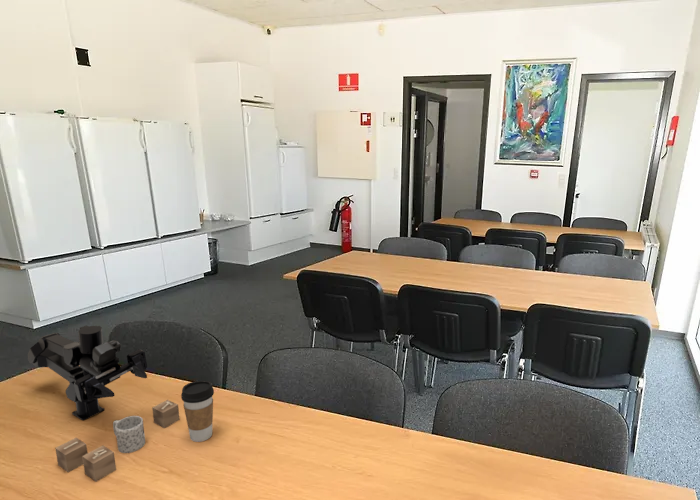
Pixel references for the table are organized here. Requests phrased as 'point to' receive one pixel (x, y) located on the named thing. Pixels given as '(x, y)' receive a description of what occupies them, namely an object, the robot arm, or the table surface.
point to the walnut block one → (71, 454)
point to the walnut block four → (99, 463)
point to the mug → (129, 434)
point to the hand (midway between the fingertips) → (130, 385)
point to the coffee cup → (198, 409)
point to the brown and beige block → (165, 413)
